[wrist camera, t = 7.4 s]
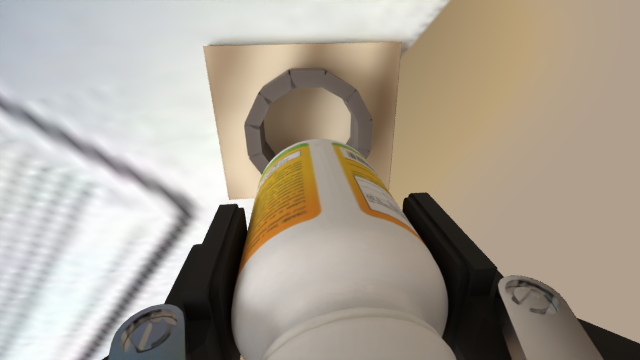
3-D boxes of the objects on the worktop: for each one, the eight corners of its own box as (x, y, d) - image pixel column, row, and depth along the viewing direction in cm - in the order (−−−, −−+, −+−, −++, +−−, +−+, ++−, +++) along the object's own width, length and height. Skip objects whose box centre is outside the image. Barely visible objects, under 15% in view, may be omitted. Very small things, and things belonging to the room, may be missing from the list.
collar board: (397, 41, 22) (417, 41, 19) (385, 185, 27) (399, 207, 24) (206, 46, 21) (189, 46, 18) (231, 194, 26) (221, 218, 23)
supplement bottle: (261, 243, 14) (215, 555, 6) (253, 136, 12) (157, 370, 3) (370, 239, 15) (485, 521, 6) (381, 135, 13) (589, 338, 4)
